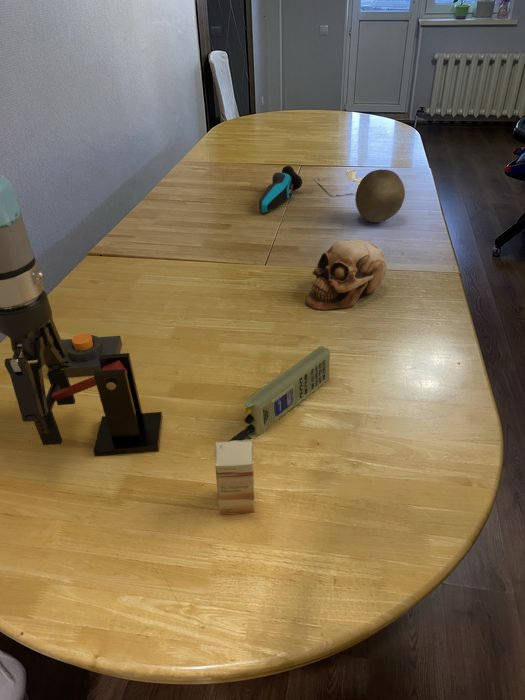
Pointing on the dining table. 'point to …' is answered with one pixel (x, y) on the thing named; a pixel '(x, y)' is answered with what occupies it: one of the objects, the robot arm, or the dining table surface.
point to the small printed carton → (235, 476)
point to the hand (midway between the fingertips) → (60, 422)
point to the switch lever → (76, 386)
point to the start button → (82, 342)
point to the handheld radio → (285, 392)
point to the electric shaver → (280, 189)
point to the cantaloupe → (379, 195)
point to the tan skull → (346, 274)
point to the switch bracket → (123, 412)
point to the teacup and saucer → (352, 176)
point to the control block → (89, 355)
